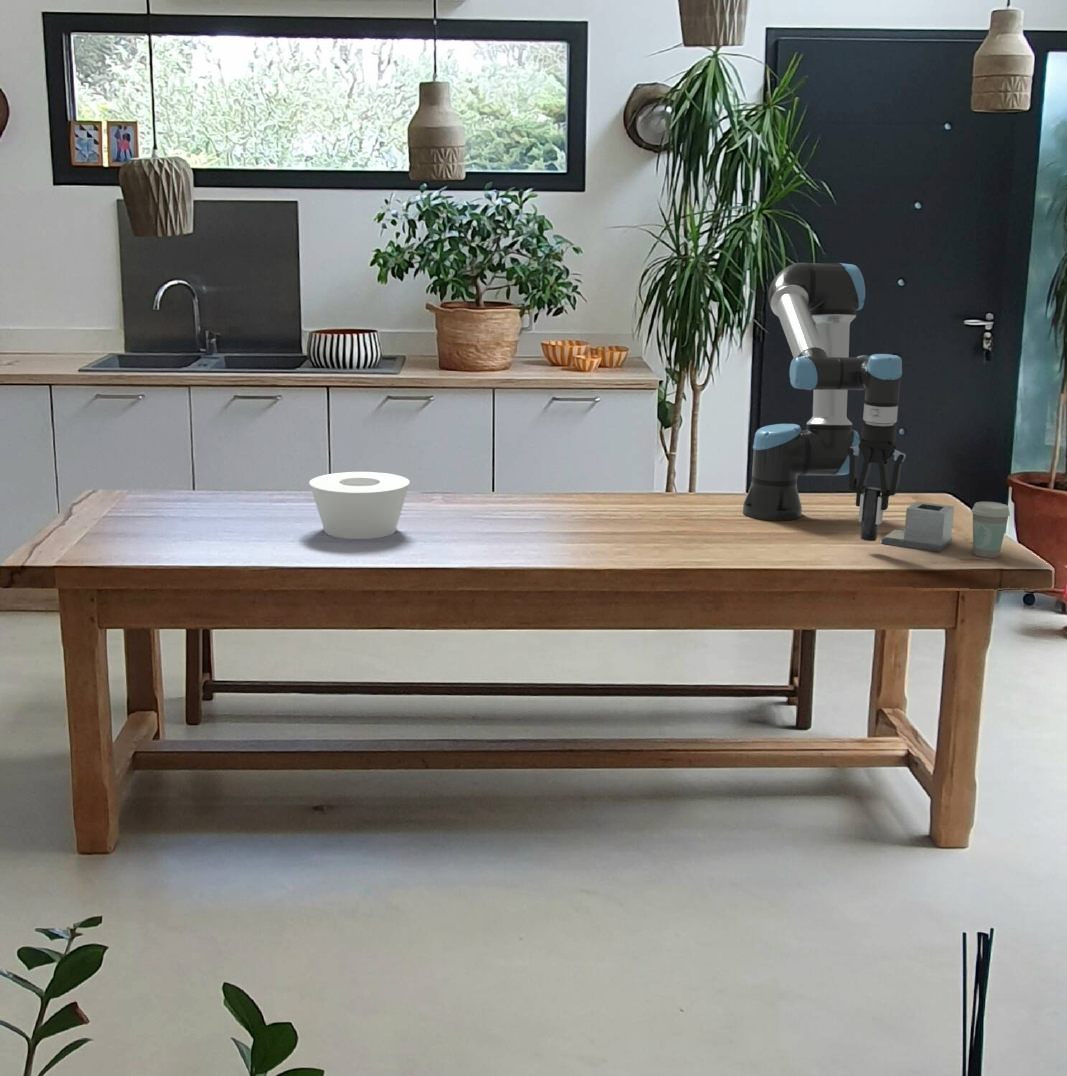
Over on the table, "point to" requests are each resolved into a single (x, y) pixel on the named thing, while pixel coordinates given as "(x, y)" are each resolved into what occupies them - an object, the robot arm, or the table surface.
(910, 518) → the square frame housing
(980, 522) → the coffee cup
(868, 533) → the black tapered cylinder
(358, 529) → the white tapered cylinder
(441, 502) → the table surface
